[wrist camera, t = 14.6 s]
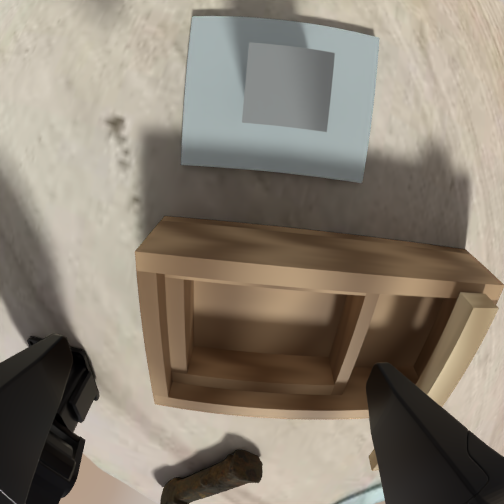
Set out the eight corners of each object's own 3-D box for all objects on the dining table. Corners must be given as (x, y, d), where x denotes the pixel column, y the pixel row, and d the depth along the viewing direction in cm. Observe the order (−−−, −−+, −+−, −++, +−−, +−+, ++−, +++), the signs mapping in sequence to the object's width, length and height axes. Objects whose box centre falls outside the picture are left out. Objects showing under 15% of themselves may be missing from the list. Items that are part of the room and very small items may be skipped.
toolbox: (170, 354, 23) (154, 403, 19) (164, 215, 19) (135, 251, 14) (415, 368, 23) (435, 411, 19) (465, 249, 19) (504, 285, 14)
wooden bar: (368, 456, 21) (371, 471, 20) (460, 292, 14) (473, 307, 13) (390, 453, 21) (393, 468, 20) (485, 293, 14) (498, 308, 13)
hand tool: (237, 442, 29) (233, 480, 25) (264, 455, 30) (264, 491, 26) (148, 478, 35) (141, 505, 31) (171, 489, 36) (166, 515, 32)
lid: (185, 161, 18) (146, 189, 12) (196, 20, 14) (162, -19, 8) (357, 179, 18) (399, 214, 12) (373, 41, 14) (424, 14, 8)
